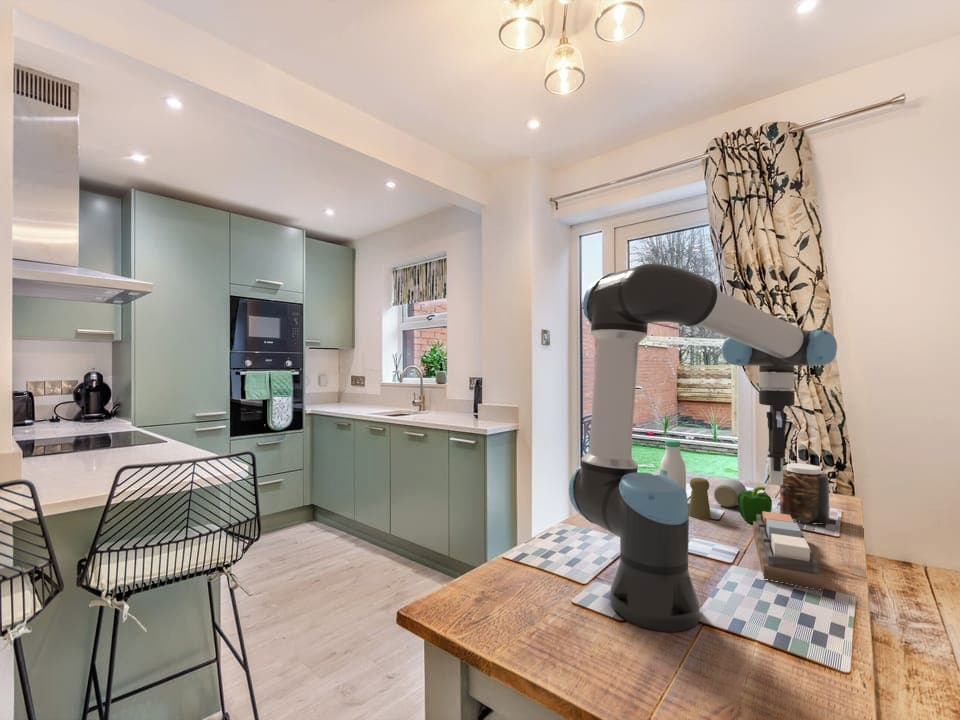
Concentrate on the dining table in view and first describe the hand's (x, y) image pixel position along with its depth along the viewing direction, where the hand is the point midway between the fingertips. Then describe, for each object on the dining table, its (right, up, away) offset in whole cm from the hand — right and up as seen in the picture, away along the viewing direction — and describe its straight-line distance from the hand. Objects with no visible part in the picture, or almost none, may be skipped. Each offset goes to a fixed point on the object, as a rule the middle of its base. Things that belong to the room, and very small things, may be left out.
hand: (776, 483), depth 114 cm
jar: (+20, -15, +18) cm, 30 cm away
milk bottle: (-12, -15, +32) cm, 37 cm away
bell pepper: (+3, -15, +15) cm, 21 cm away
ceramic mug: (+6, -15, +29) cm, 33 cm away
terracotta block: (0, -11, 0) cm, 11 cm away
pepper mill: (-10, -15, +19) cm, 26 cm away
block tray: (-5, -15, -9) cm, 18 cm away
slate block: (-5, -10, -9) cm, 14 cm away
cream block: (-9, -10, -19) cm, 23 cm away
